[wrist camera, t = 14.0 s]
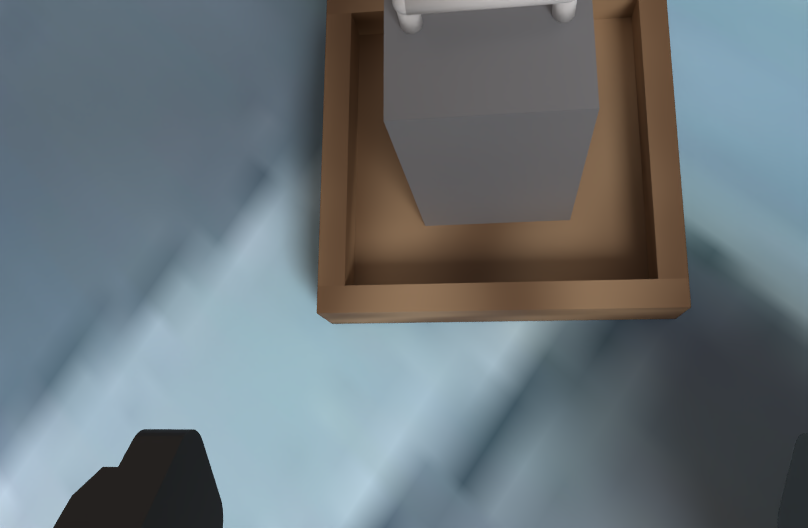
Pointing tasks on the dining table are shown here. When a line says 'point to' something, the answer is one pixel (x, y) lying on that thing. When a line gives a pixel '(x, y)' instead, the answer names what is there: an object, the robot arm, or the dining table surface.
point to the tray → (516, 241)
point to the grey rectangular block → (491, 105)
